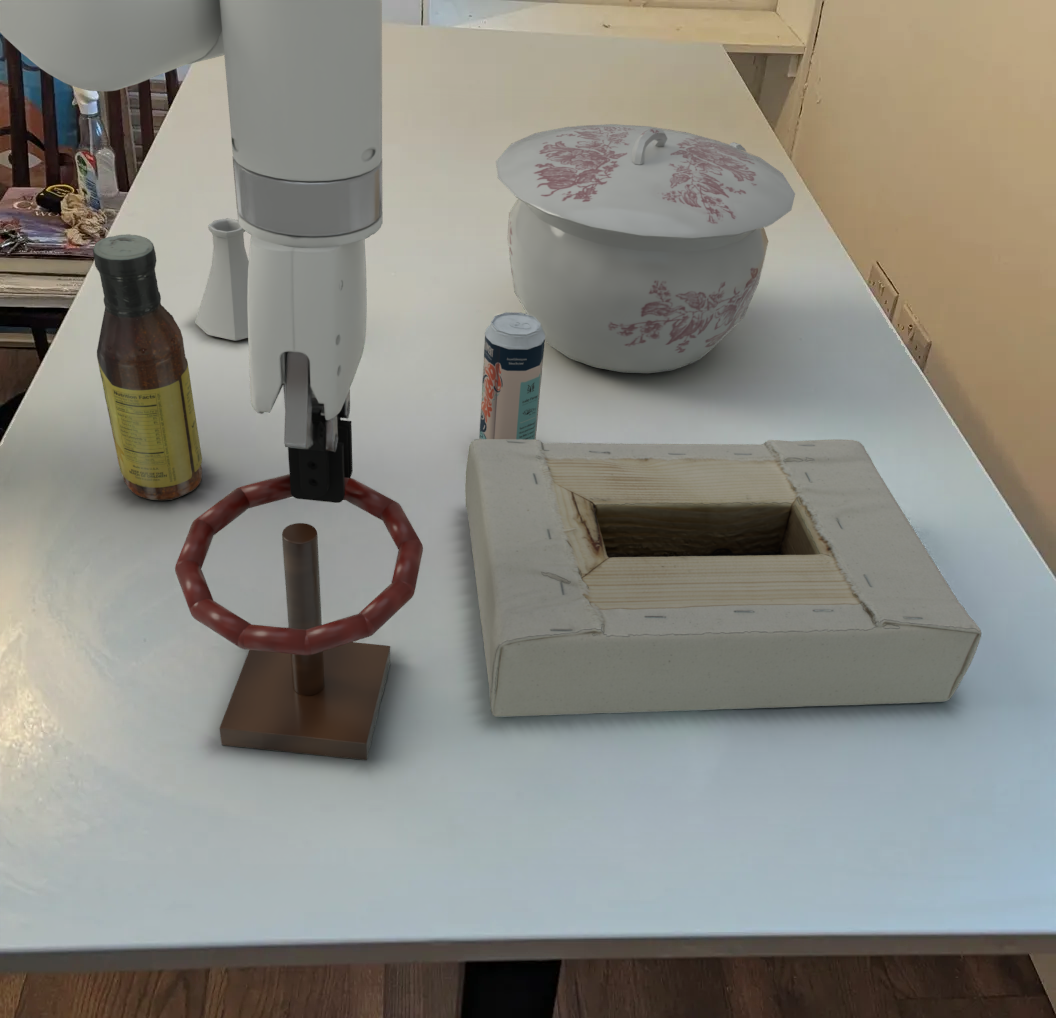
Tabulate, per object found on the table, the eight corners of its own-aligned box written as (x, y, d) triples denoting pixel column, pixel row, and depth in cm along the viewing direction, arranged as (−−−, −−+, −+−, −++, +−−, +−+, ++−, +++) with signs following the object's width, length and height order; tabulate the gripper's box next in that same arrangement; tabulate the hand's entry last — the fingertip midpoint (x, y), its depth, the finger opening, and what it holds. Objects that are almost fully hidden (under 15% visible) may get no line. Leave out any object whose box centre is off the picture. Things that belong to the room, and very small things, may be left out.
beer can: (485, 433, 103) (493, 305, 95) (539, 443, 102) (551, 315, 95) (472, 462, 99) (479, 331, 91) (528, 472, 99) (539, 341, 91)
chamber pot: (506, 413, 106) (523, 183, 92) (470, 281, 126) (479, 77, 113) (802, 408, 110) (858, 188, 97) (720, 281, 131) (757, 86, 118)
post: (221, 745, 72) (198, 572, 64) (257, 648, 79) (241, 481, 71) (366, 760, 72) (363, 590, 64) (390, 662, 79) (390, 496, 71)
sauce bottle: (158, 453, 97) (123, 216, 84) (220, 476, 95) (195, 237, 82) (102, 491, 92) (57, 247, 79) (167, 516, 90) (131, 270, 77)
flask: (181, 325, 114) (169, 224, 107) (236, 301, 119) (227, 203, 112) (235, 349, 111) (226, 247, 105) (289, 323, 116) (283, 225, 109)
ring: (150, 645, 65) (146, 628, 64) (216, 476, 74) (212, 460, 73) (400, 669, 64) (400, 653, 63) (435, 497, 74) (434, 481, 73)
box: (489, 729, 75) (957, 706, 80) (495, 637, 71) (993, 618, 75) (457, 520, 93) (842, 511, 98) (460, 435, 88) (865, 430, 93)
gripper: (273, 135, 67) (290, 416, 79) (193, 245, 55) (227, 557, 67) (404, 148, 67) (402, 427, 79) (353, 261, 55) (359, 571, 67)
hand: (322, 485), depth 73 cm, fingers closed
